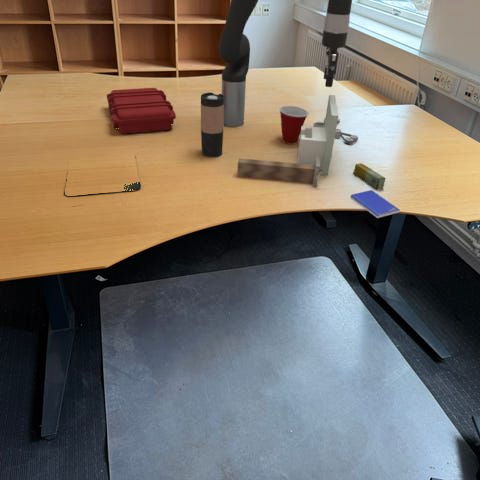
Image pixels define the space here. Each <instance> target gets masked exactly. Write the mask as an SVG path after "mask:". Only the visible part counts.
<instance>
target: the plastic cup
mask: <svg viewBox="0 0 480 480" xmlns="http://www.w3.org/2000/svg"><path fill="white" fill-rule="evenodd" d="M278 110H279V112H280V113H279V114H280V122H281V124H280V125H281V139H282V142H283V141H284V142H283V143H285V144H288V143H289V145H292V144H294V143H295V144H297V143H298V141H299V140H300V134H301V126H304V123H305V121H306V119H307V117H308V116H309V115H310V112H309V111H308V110H307V109H305V108H303V107H300V106H297V105H296V106H294V105H282V106H280V107H279V109H278Z"/></svg>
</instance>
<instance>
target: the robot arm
mask: <svg viewBox="0 0 480 480" xmlns="http://www.w3.org/2000/svg"><path fill="white" fill-rule="evenodd" d="M258 2H259V0H230V3H229V7H228V11H227V17H226V20H225V24H224V26H223V30H222V33H221V35H220V39H219V43H218V55H219V57H220V59H221V60H222V61H223V62H224V63H226V65H225V67H224V69H223V70H222V73H221V94H222V95H223V96H224V125H223V126H225V127H230V128H233V127H234V128H237V127H241V126H243V125H244V124H245V109H246V108H245V107H246V103H245V102H246V90H247V89H246V85H247V75H248V72H249V69H250V68H249V66H250V58H251V43H250V40H249V38H248V37H247V36H246V35H245V33H244V30H245V28H246V25H247V22H248V20H249V19H250V17H251V15H252V14H253V11H254V10H255V8H256V6H257V4H258ZM352 2H353V0H328V1H327V5H326V6H327V7H326V14H325V17H324V22H323V31H322V37H321V38H322V39H321V46H323V47H326V50H325V53H324V56H325V57H324V73H323V79H324V80H325V85H324V86H325V87H326V88H332V87H333V84H334V78H335V75H336V74H337V67H338V61H339V60H338V59H339V55H340V53H339V51H338V50H339V49H342V48H344V47H346V45H347V41H348V40H347V39H348V33H349V27H350V20H351V19H350V18H351V16H350V15H351V10H352V4H353V3H352Z"/></svg>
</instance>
